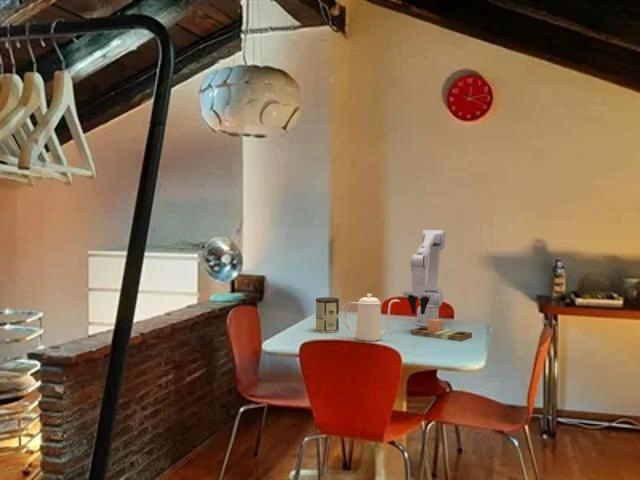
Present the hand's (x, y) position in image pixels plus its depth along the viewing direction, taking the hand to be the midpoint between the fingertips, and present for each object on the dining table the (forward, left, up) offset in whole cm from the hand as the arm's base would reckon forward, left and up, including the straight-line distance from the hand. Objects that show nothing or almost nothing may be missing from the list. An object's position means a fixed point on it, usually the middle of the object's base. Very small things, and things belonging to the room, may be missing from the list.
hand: (418, 313), depth 305 cm
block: (+8, 0, -6) cm, 10 cm away
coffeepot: (-9, -25, -9) cm, 28 cm away
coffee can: (-34, -20, -9) cm, 40 cm away
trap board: (+11, 0, -8) cm, 14 cm away
